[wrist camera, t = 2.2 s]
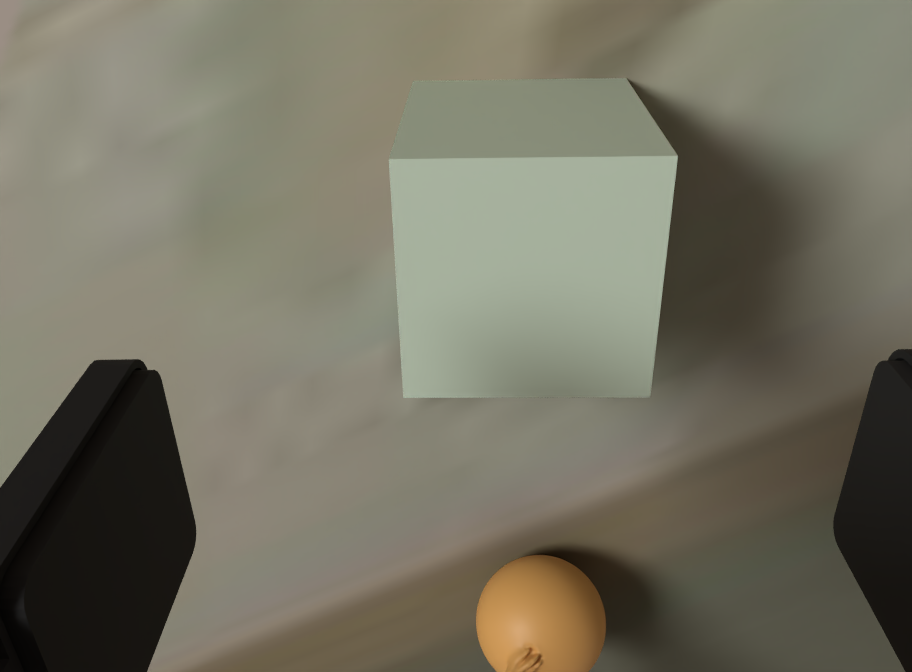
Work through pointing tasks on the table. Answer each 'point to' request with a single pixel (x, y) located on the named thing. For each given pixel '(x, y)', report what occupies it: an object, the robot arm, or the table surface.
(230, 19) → the table surface
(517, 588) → the figurine
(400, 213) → the green block
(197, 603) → the table surface
